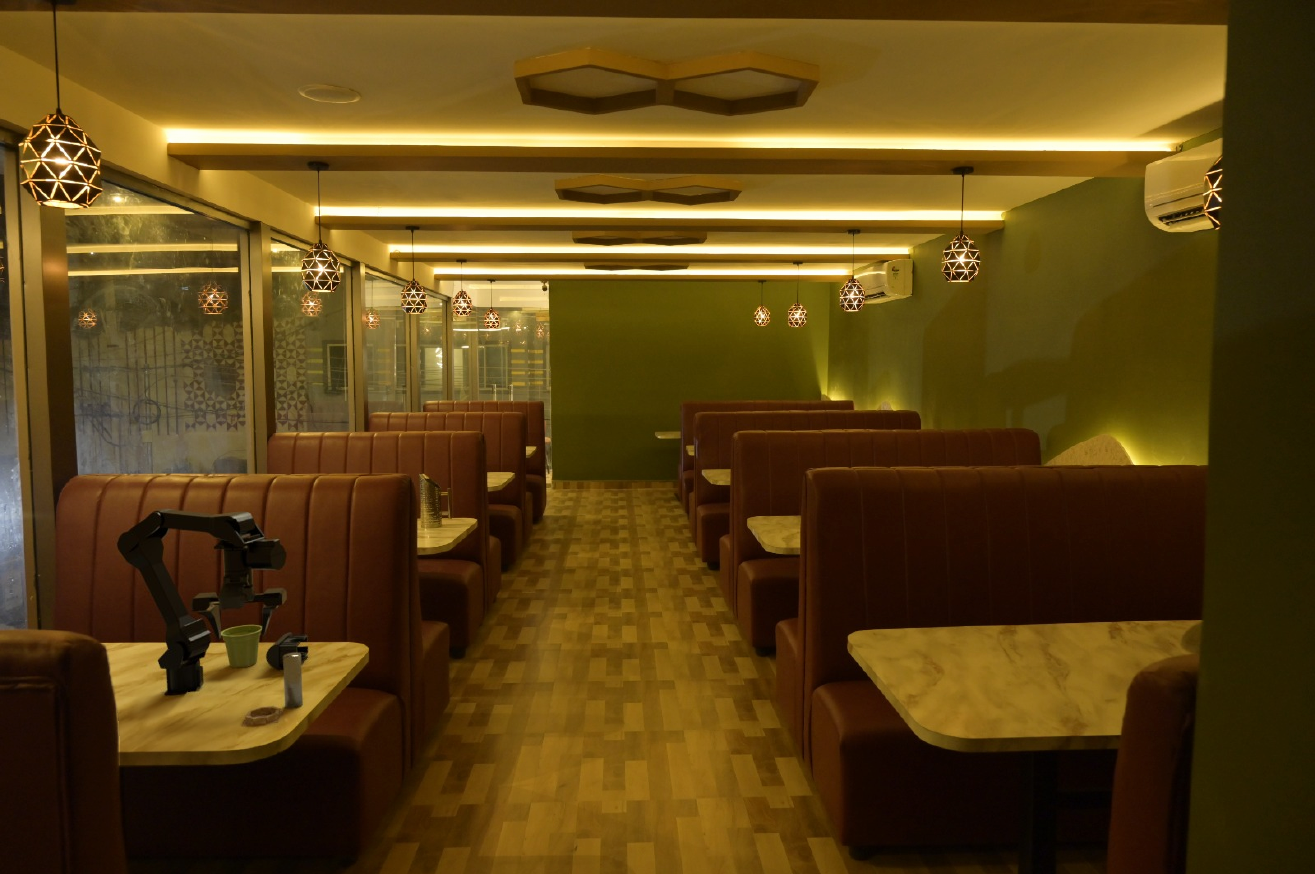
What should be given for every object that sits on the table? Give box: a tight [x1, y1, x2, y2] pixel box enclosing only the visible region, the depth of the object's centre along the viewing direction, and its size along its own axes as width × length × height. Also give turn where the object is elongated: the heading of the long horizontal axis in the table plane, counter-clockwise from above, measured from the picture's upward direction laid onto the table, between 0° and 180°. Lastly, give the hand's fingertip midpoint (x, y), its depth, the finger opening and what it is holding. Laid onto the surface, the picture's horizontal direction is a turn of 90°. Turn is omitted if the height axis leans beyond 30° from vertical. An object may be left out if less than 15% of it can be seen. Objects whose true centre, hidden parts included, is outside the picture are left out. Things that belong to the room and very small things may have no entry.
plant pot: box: [221, 624, 262, 669], centre depth 206 cm, size 9×9×9 cm
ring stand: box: [241, 705, 285, 727], centre depth 171 cm, size 7×6×2 cm
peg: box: [283, 653, 304, 710], centre depth 177 cm, size 4×4×12 cm
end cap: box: [265, 631, 309, 671], centre depth 206 cm, size 10×7×7 cm
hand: (241, 636), depth 186 cm, fingers open, 9 cm apart
